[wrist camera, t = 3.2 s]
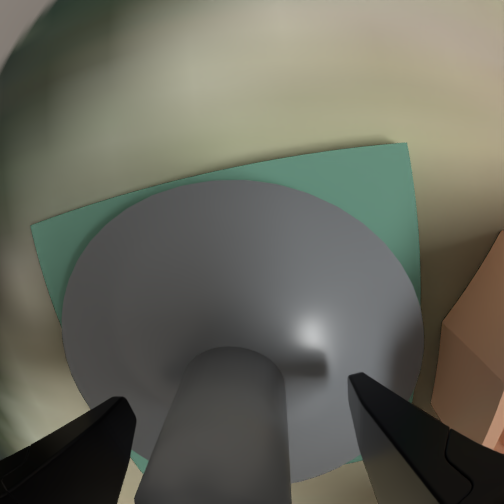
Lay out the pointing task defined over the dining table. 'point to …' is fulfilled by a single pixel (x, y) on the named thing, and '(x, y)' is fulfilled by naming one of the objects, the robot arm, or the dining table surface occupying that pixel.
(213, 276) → the lid
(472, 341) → the bowl
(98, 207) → the mat
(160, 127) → the dining table surface
